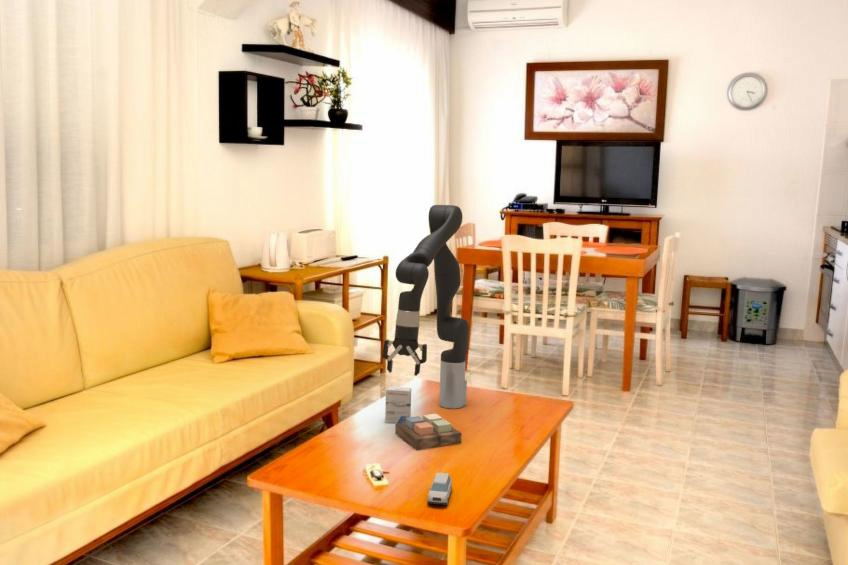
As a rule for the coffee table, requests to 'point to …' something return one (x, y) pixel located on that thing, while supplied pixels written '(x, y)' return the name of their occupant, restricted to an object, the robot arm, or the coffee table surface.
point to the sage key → (441, 426)
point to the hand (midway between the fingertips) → (402, 373)
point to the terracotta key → (423, 428)
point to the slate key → (413, 421)
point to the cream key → (431, 418)
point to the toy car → (440, 489)
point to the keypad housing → (427, 437)
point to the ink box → (397, 404)
